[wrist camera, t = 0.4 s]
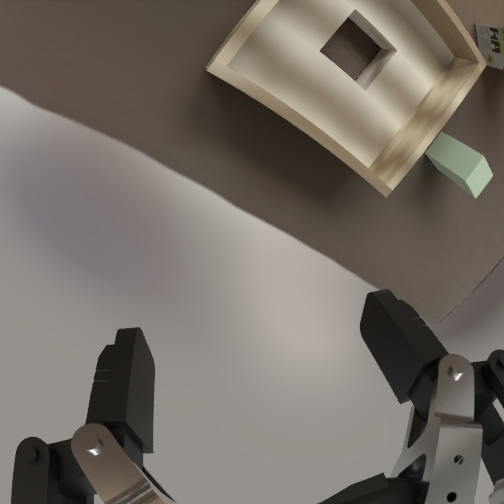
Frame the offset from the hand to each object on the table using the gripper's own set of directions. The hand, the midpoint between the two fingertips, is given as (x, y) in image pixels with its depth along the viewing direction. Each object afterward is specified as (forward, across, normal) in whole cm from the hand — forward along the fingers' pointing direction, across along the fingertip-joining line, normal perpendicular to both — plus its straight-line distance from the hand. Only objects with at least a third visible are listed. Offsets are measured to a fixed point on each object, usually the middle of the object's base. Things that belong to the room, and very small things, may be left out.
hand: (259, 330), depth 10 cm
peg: (+23, -29, -1) cm, 37 cm away
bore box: (+21, -14, -12) cm, 28 cm away
